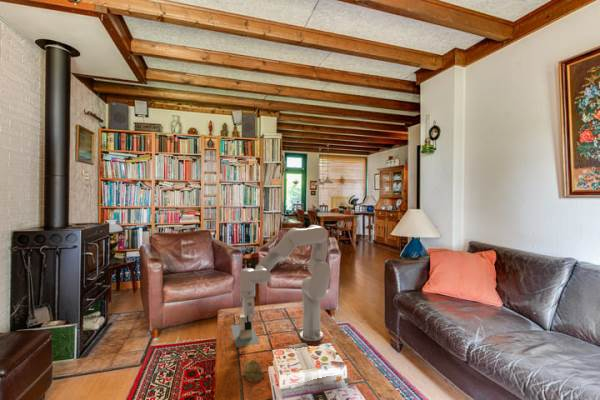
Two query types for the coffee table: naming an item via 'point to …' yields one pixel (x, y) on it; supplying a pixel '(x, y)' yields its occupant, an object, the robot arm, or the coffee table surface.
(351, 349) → the coffee table surface
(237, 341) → the rubber mat
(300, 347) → the fossil replica
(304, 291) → the robot arm
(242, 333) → the maple block
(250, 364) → the dark olive rounded lump
